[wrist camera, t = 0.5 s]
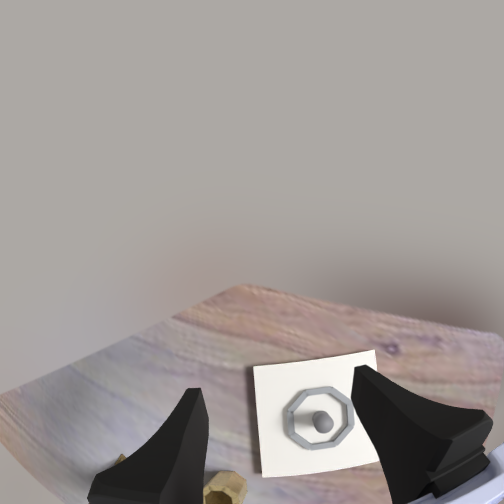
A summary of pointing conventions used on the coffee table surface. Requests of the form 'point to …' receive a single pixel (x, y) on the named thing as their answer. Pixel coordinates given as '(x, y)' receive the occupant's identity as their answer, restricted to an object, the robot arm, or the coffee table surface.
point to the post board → (311, 416)
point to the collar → (225, 489)
